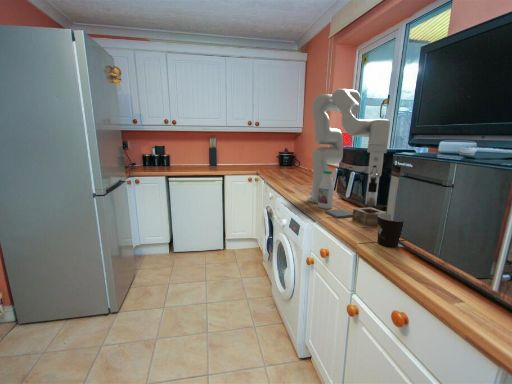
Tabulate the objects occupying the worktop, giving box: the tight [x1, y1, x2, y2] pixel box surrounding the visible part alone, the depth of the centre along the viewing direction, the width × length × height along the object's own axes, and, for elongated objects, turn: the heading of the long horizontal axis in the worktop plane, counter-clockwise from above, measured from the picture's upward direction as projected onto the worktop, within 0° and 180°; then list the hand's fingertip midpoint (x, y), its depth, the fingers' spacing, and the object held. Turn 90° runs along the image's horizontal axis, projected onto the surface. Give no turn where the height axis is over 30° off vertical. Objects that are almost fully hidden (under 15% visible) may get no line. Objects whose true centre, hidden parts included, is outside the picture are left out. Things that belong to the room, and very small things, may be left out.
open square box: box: [351, 206, 387, 227], centre depth 117 cm, size 10×10×5 cm
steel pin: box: [364, 174, 380, 207], centre depth 114 cm, size 4×4×13 cm
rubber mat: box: [324, 208, 353, 219], centre depth 127 cm, size 10×10×1 cm
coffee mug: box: [377, 213, 404, 249], centre depth 92 cm, size 12×9×10 cm
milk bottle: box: [317, 169, 335, 210], centre depth 138 cm, size 8×8×20 cm
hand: (372, 190), depth 114 cm, fingers closed on steel pin, 4 cm apart
